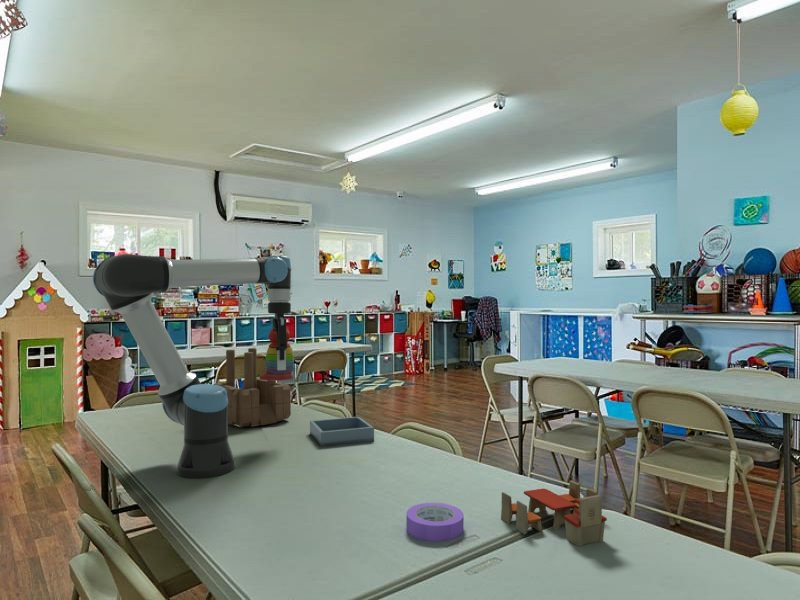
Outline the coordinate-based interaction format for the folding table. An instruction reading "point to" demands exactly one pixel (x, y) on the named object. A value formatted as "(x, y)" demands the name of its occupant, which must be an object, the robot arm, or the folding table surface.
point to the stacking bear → (272, 360)
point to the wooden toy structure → (254, 394)
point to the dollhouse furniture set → (560, 513)
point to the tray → (341, 431)
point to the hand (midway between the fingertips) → (279, 368)
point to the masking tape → (434, 521)
